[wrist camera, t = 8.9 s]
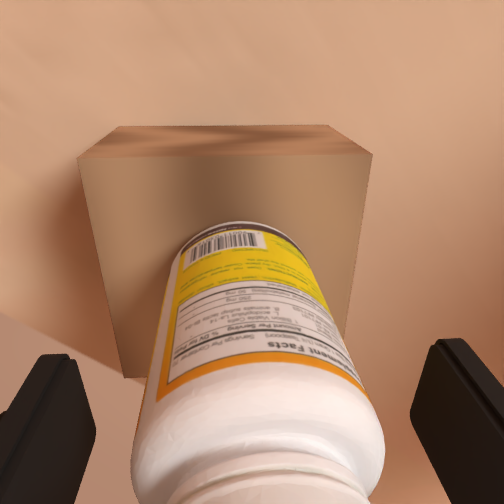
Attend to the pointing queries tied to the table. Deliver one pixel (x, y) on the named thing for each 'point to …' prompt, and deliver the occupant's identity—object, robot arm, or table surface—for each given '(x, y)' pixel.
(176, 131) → the walnut block
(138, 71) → the table surface
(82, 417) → the robot arm
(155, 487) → the supplement bottle
